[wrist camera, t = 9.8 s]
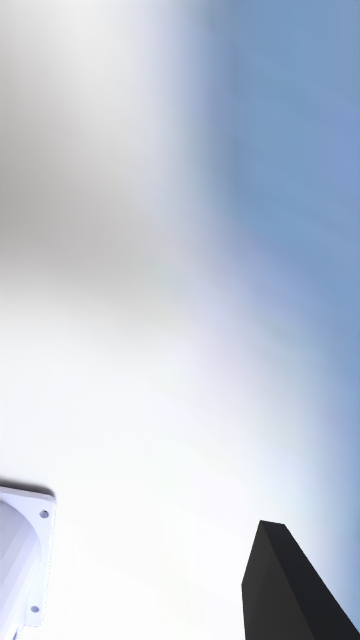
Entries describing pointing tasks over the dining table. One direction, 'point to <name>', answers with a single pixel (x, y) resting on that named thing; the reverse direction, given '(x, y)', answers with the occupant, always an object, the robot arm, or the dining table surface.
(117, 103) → the dining table surface
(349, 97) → the dining table surface
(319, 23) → the dining table surface
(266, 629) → the robot arm
